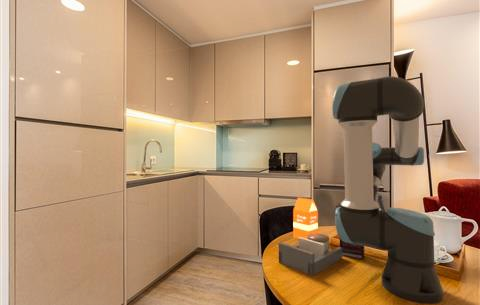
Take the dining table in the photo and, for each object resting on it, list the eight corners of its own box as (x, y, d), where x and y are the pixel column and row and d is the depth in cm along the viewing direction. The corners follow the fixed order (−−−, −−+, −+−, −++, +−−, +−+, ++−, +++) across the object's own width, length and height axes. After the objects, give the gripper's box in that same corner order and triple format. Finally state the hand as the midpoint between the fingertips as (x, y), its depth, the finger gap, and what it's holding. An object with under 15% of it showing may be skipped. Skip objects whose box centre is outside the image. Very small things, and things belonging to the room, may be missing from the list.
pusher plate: (324, 263, 88) (324, 244, 88) (322, 264, 87) (322, 244, 88) (300, 254, 96) (300, 237, 96) (298, 255, 95) (298, 237, 95)
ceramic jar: (333, 257, 95) (333, 236, 95) (322, 263, 89) (322, 241, 89) (314, 251, 101) (314, 232, 101) (303, 256, 95) (303, 236, 96)
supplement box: (364, 257, 96) (364, 217, 97) (363, 262, 92) (362, 220, 93) (341, 253, 101) (341, 214, 101) (339, 257, 97) (338, 217, 97)
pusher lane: (342, 260, 93) (342, 240, 94) (312, 279, 80) (311, 254, 80) (310, 250, 104) (310, 231, 104) (278, 264, 90) (278, 243, 90)
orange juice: (309, 244, 111) (308, 200, 112) (293, 239, 118) (292, 198, 118) (318, 240, 117) (317, 198, 117) (302, 236, 123) (302, 196, 124)
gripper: (402, 195, 102) (391, 239, 92) (344, 189, 120) (329, 225, 110) (398, 183, 98) (385, 228, 88) (338, 179, 117) (322, 216, 107)
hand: (354, 227), depth 99 cm, fingers open, 13 cm apart
